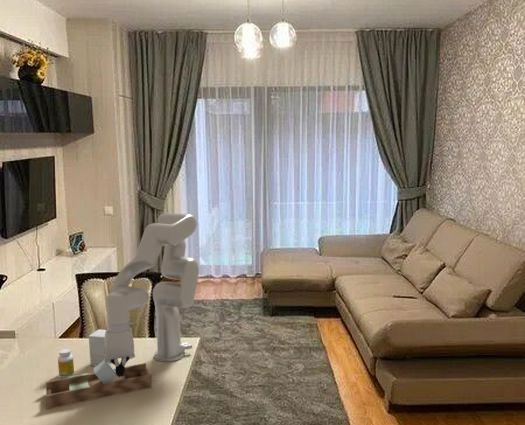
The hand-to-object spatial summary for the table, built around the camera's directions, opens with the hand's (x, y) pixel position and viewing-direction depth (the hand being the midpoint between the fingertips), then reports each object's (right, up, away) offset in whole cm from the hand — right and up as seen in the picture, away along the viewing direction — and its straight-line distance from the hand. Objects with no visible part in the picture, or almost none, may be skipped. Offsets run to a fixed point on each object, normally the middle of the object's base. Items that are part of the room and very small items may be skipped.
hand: (120, 375), depth 174 cm
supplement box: (-13, -2, +20) cm, 24 cm away
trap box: (-7, -5, -2) cm, 9 cm away
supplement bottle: (-24, -4, +10) cm, 26 cm away
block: (-3, -1, -1) cm, 4 cm away
